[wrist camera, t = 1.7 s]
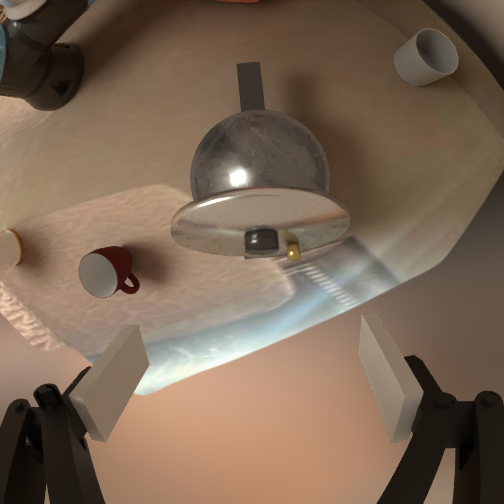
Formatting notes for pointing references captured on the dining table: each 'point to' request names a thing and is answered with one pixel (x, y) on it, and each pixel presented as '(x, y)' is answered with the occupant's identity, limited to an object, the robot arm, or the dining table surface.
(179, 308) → the dining table surface
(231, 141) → the pot
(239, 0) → the teapot
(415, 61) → the cup
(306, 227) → the lid
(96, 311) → the dining table surface
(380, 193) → the dining table surface
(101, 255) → the mug
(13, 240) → the cup
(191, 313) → the dining table surface
